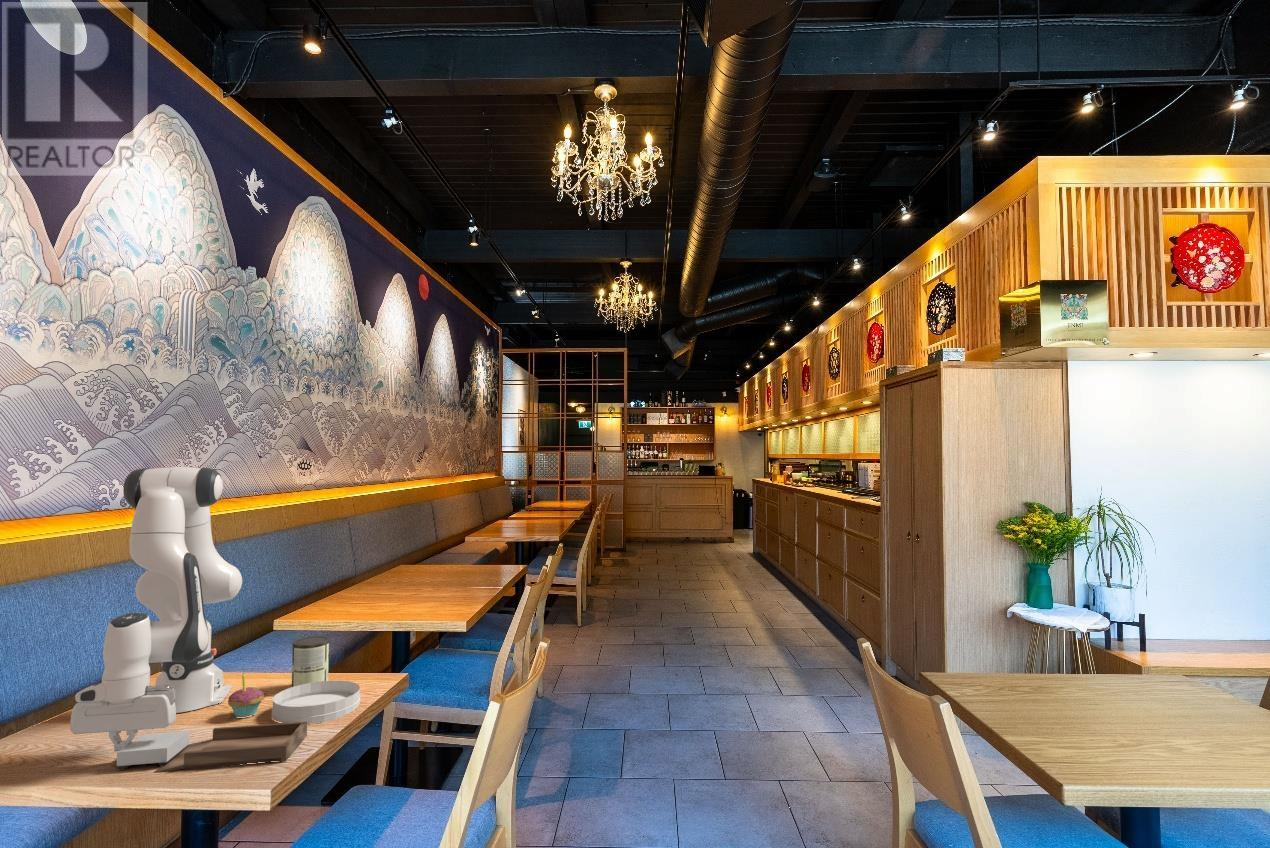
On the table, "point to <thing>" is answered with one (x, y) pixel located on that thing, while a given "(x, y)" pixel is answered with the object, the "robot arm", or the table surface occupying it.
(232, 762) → the dock
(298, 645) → the coffee can
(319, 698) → the dish
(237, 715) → the cupcake
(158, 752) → the grey square tile
